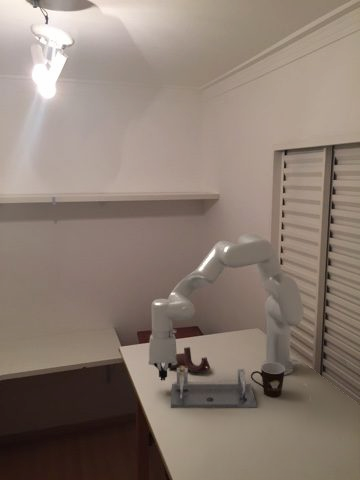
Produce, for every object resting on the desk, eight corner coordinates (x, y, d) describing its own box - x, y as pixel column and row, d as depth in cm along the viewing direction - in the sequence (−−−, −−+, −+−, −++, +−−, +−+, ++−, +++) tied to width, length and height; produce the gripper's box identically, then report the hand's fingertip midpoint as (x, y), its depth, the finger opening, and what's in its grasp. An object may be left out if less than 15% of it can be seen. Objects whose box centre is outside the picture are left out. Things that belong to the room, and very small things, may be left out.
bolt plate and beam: (250, 386, 162) (250, 366, 160) (256, 407, 148) (256, 385, 146) (172, 386, 162) (171, 366, 161) (170, 407, 149) (170, 386, 147)
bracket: (208, 371, 168) (204, 345, 171) (168, 374, 173) (165, 349, 175) (211, 369, 174) (208, 344, 177) (172, 373, 179) (170, 349, 181)
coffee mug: (286, 389, 159) (287, 364, 157) (281, 401, 151) (282, 375, 149) (255, 383, 164) (256, 359, 162) (249, 394, 156) (250, 369, 154)
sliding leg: (187, 383, 161) (187, 364, 159) (187, 399, 151) (187, 378, 149) (177, 383, 161) (176, 364, 160) (176, 399, 151) (175, 378, 149)
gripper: (182, 328, 159) (183, 373, 162) (143, 328, 159) (144, 373, 163) (182, 336, 151) (182, 384, 155) (140, 336, 152) (142, 383, 155)
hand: (163, 378), depth 159 cm, fingers closed
